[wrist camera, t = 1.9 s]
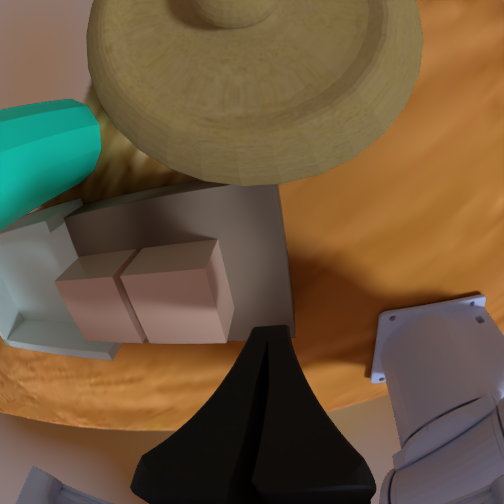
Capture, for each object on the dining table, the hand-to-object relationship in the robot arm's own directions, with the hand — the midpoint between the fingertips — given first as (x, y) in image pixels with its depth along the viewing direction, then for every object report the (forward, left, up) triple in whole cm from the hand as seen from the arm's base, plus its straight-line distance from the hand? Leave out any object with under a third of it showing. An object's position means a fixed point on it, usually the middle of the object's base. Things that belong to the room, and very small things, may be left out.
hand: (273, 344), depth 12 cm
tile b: (+10, 0, -6) cm, 11 cm away
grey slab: (+6, 0, -8) cm, 10 cm away
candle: (+12, -9, -8) cm, 18 cm away
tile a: (+5, 0, -6) cm, 8 cm away
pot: (-1, -12, -8) cm, 14 cm away
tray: (+20, 0, -8) cm, 21 cm away
